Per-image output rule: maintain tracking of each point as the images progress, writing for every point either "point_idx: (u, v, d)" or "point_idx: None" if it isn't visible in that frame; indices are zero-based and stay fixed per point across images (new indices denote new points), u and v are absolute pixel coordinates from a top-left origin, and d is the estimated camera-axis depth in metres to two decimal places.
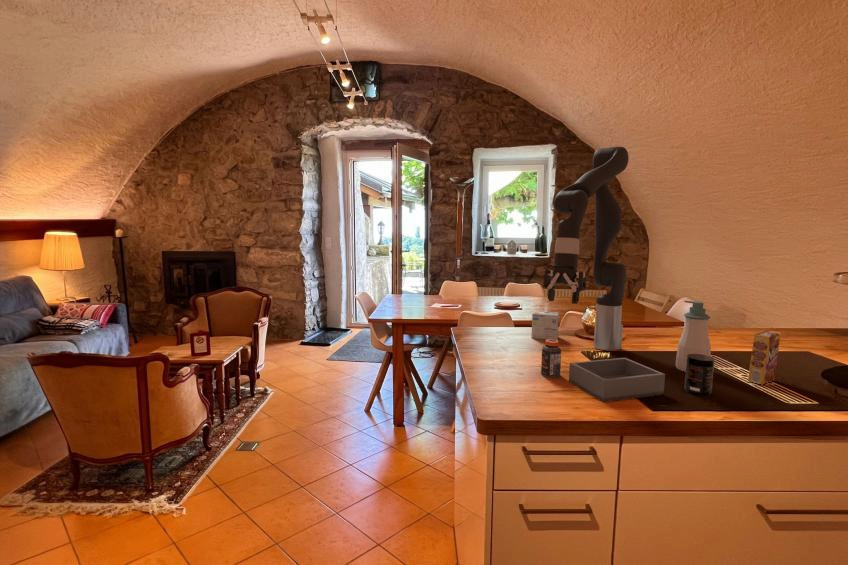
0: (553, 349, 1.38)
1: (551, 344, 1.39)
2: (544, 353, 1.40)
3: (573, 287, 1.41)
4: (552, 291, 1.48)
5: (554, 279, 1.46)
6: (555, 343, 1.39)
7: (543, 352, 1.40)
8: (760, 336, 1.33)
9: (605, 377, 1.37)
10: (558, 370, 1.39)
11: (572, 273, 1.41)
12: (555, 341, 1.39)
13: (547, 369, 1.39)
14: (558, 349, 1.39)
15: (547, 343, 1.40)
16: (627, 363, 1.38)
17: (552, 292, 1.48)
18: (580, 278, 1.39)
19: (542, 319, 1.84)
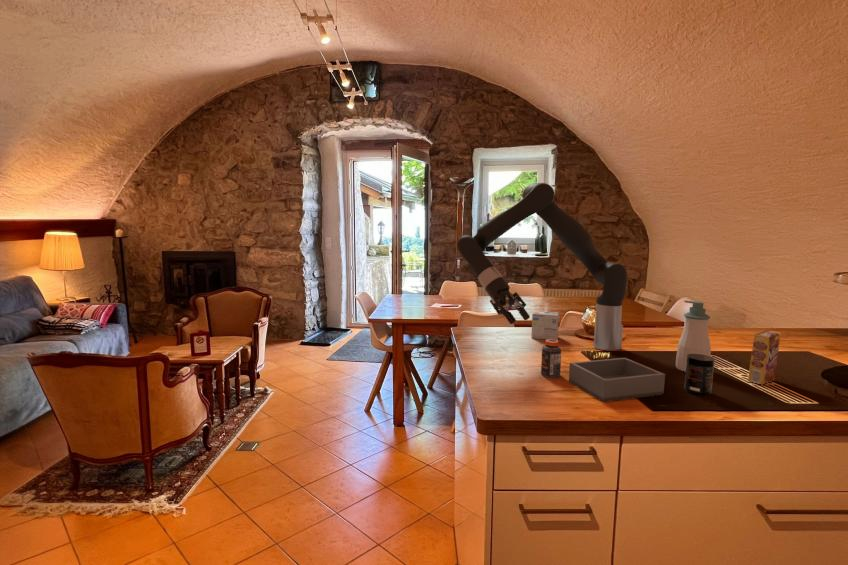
0: (553, 349, 1.38)
1: (551, 344, 1.39)
2: (544, 353, 1.40)
3: None
4: (521, 311, 1.52)
5: None
6: (555, 343, 1.39)
7: (543, 352, 1.40)
8: (760, 336, 1.33)
9: (605, 377, 1.37)
10: (558, 370, 1.39)
11: None
12: (555, 341, 1.39)
13: (547, 369, 1.39)
14: (558, 349, 1.39)
15: (547, 343, 1.40)
16: (627, 363, 1.38)
17: (521, 312, 1.52)
18: None
19: (542, 319, 1.84)
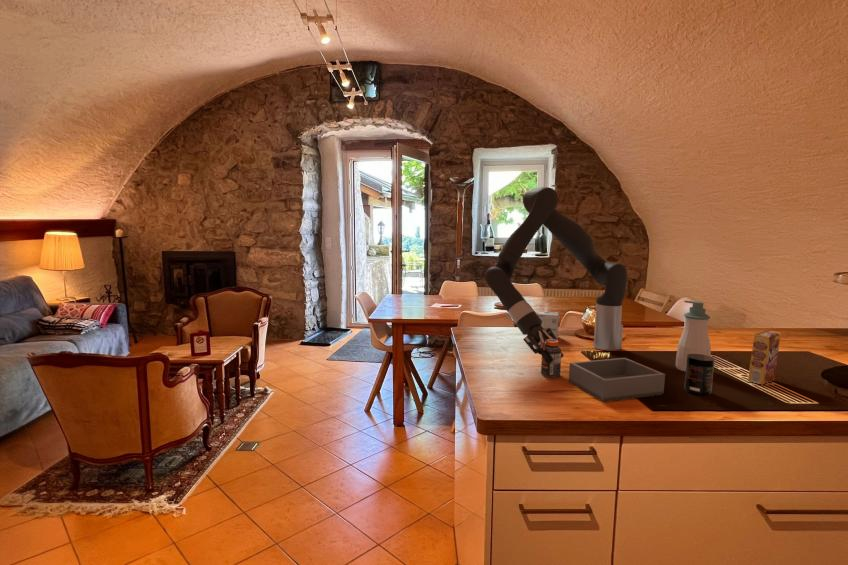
0: (553, 349, 1.38)
1: (551, 344, 1.39)
2: None
3: None
4: None
5: None
6: (555, 343, 1.39)
7: None
8: (760, 336, 1.33)
9: (605, 377, 1.37)
10: (558, 370, 1.39)
11: None
12: (555, 341, 1.39)
13: (547, 369, 1.39)
14: (558, 349, 1.39)
15: (547, 343, 1.40)
16: (627, 363, 1.38)
17: None
18: None
19: (542, 319, 1.84)
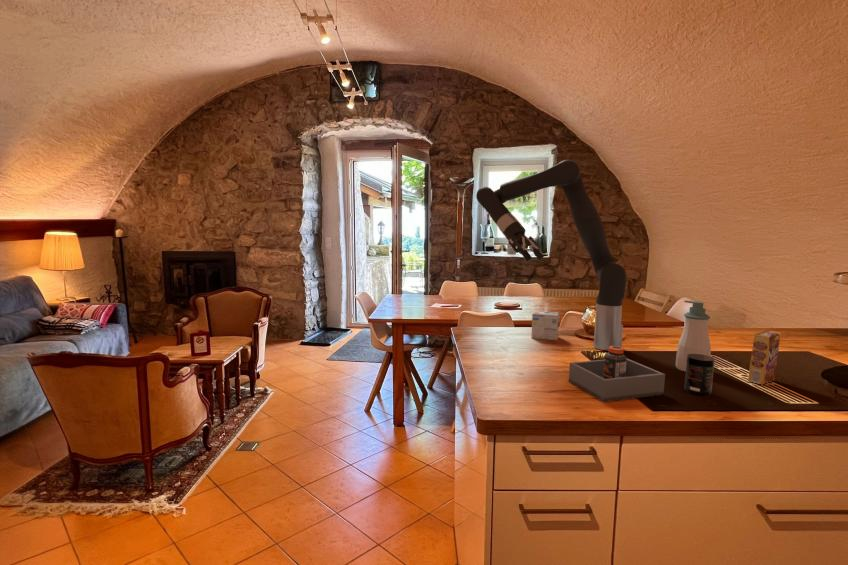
0: (618, 357, 1.27)
1: (616, 351, 1.28)
2: (607, 361, 1.28)
3: None
4: (535, 252, 1.69)
5: None
6: (620, 350, 1.27)
7: (607, 360, 1.29)
8: (760, 336, 1.33)
9: None
10: None
11: None
12: (620, 348, 1.28)
13: None
14: (624, 357, 1.28)
15: (611, 350, 1.28)
16: (627, 363, 1.38)
17: (536, 253, 1.69)
18: None
19: (542, 319, 1.84)
